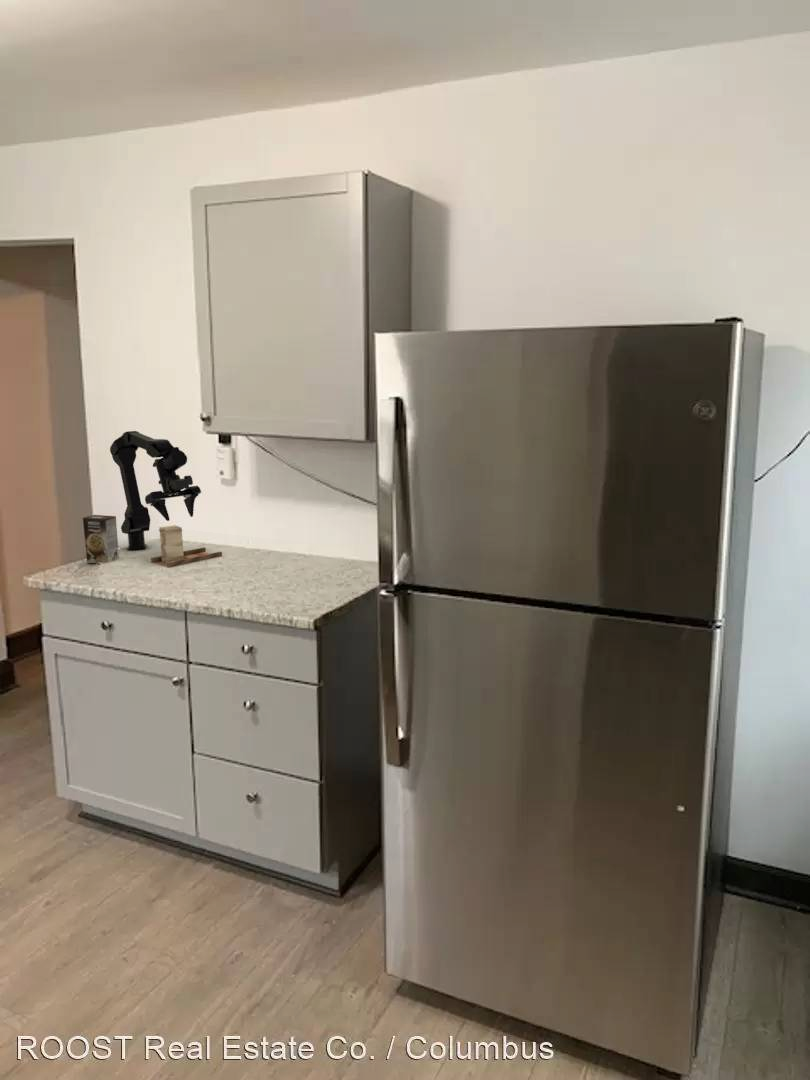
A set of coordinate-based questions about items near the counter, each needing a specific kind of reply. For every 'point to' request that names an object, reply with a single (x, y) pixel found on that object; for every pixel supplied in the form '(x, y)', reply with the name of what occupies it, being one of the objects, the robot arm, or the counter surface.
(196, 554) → the bay
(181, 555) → the stack of paper
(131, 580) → the counter surface
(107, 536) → the coffee box
